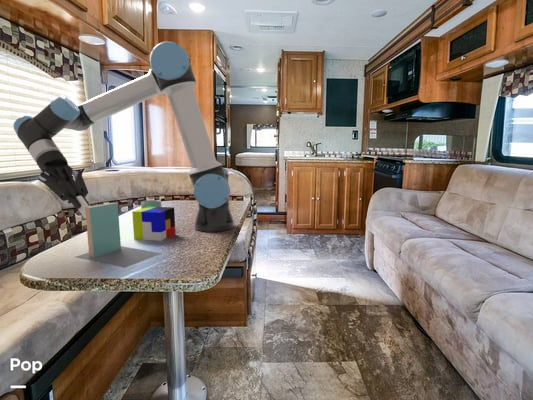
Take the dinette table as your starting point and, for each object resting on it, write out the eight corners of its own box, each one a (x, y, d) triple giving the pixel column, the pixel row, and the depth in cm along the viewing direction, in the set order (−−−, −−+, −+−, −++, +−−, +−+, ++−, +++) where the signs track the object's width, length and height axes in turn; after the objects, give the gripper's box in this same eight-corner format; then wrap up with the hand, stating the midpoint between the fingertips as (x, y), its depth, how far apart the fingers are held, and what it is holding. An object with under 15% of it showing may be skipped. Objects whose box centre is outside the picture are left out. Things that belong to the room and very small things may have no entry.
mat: (74, 258, 93) (74, 256, 93) (114, 246, 104) (114, 244, 104) (125, 269, 84) (125, 267, 84) (162, 254, 96) (162, 253, 96)
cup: (142, 224, 135) (141, 200, 134) (162, 223, 138) (161, 199, 136) (141, 229, 128) (140, 203, 126) (162, 227, 130) (161, 202, 129)
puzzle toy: (161, 242, 109) (159, 212, 108) (134, 240, 111) (132, 211, 110) (175, 234, 119) (174, 207, 118) (150, 233, 121) (148, 206, 120)
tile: (89, 256, 93) (85, 207, 91) (116, 247, 101) (113, 202, 99) (94, 257, 92) (89, 207, 90) (120, 248, 100) (117, 203, 98)
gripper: (65, 165, 110) (102, 219, 105) (21, 167, 98) (62, 227, 93) (73, 149, 107) (113, 203, 102) (30, 148, 95) (72, 210, 90)
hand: (88, 215), depth 97 cm, fingers closed
